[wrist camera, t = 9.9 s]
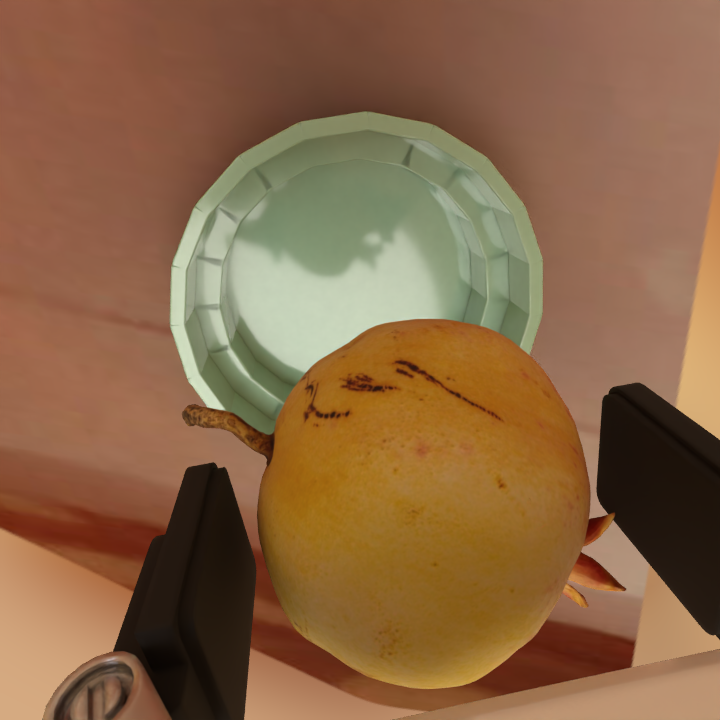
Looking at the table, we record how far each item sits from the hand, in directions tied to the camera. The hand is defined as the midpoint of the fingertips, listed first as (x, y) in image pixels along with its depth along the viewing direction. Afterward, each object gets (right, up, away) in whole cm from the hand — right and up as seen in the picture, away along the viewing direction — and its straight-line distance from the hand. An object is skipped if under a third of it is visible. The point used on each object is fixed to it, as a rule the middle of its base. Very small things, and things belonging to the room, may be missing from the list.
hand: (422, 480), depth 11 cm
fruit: (-1, +1, +3) cm, 3 cm away
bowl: (-2, +6, +14) cm, 16 cm away
